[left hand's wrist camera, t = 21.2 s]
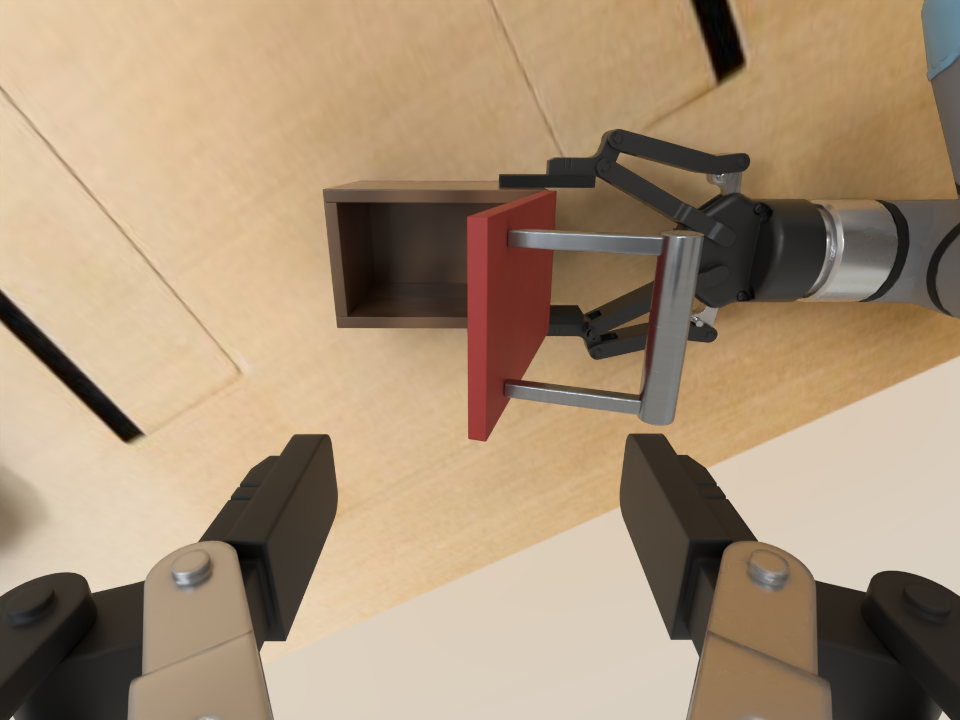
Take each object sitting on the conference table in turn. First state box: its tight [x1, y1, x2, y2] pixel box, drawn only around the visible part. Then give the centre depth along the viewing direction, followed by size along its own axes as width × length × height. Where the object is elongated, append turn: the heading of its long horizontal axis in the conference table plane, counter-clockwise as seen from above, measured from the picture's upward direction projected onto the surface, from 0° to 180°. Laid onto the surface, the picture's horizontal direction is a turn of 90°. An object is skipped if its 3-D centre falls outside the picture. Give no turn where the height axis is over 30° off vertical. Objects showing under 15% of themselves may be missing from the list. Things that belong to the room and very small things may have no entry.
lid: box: [467, 190, 704, 442], centre depth 26 cm, size 15×9×8 cm
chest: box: [323, 181, 549, 328], centre depth 39 cm, size 14×9×11 cm, turn 90°
